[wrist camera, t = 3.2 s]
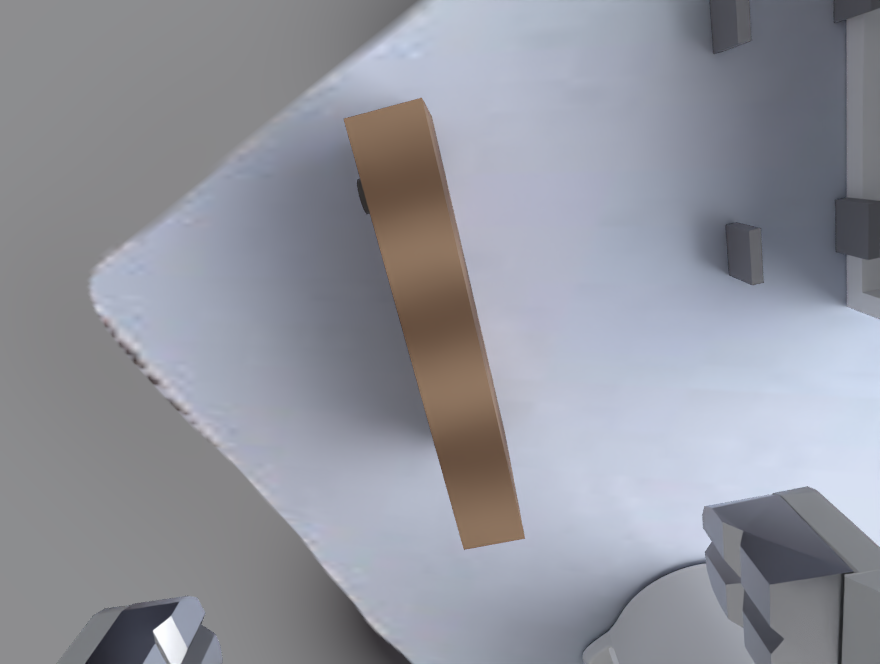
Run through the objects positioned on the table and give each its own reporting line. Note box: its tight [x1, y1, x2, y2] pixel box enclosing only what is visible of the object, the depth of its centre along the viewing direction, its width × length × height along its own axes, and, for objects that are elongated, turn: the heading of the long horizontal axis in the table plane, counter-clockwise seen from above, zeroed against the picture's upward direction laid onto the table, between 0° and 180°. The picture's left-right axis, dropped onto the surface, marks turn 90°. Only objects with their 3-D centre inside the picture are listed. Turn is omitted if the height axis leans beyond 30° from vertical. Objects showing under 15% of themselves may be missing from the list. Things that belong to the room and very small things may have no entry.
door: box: [344, 98, 525, 550], centre depth 27 cm, size 20×4×10 cm, turn 14°
